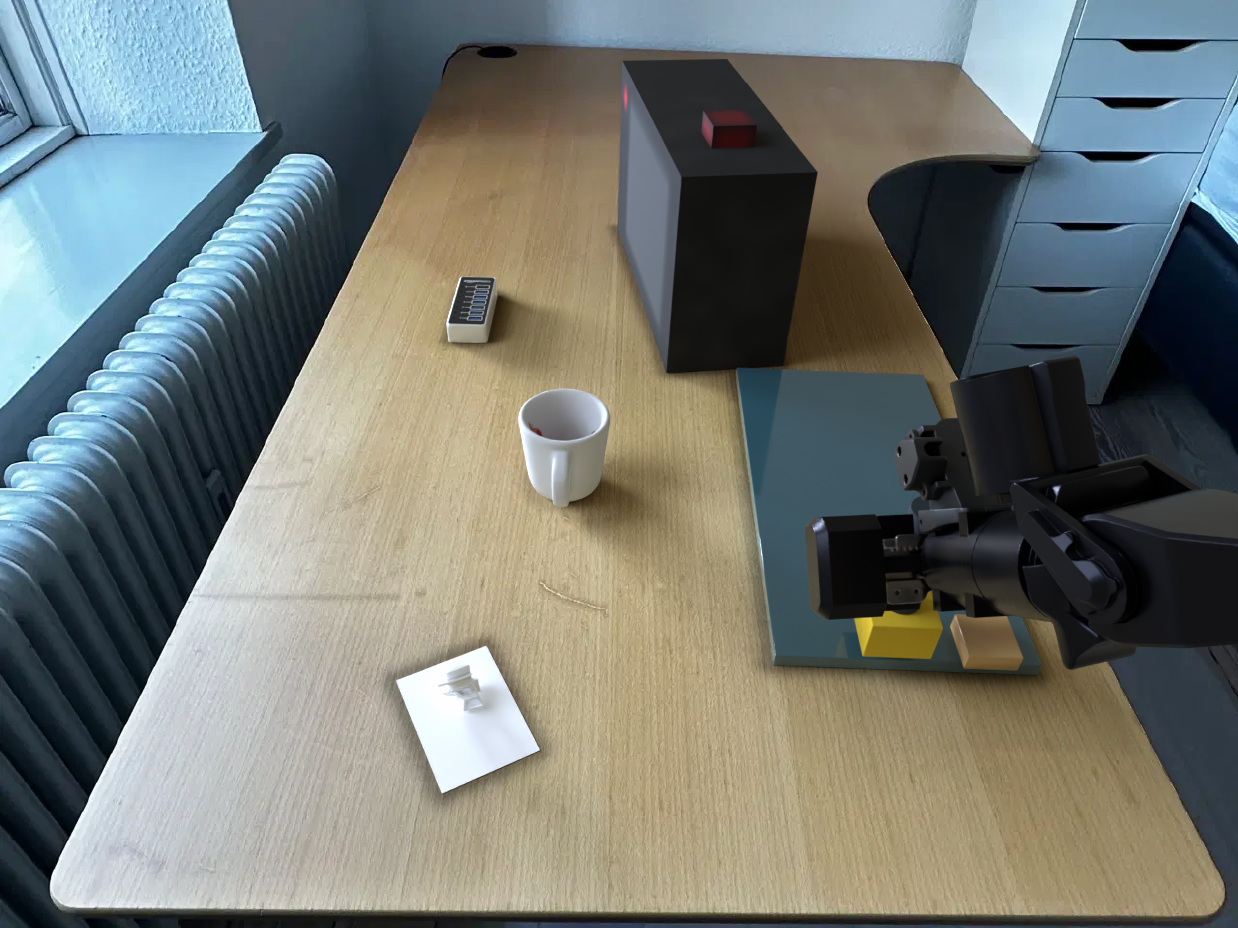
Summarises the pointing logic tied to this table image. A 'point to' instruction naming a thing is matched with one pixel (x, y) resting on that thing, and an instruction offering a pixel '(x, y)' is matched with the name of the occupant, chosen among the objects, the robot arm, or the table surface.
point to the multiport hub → (472, 310)
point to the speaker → (710, 213)
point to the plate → (832, 498)
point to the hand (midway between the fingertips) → (904, 556)
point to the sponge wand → (903, 621)
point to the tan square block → (986, 643)
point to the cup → (564, 443)
